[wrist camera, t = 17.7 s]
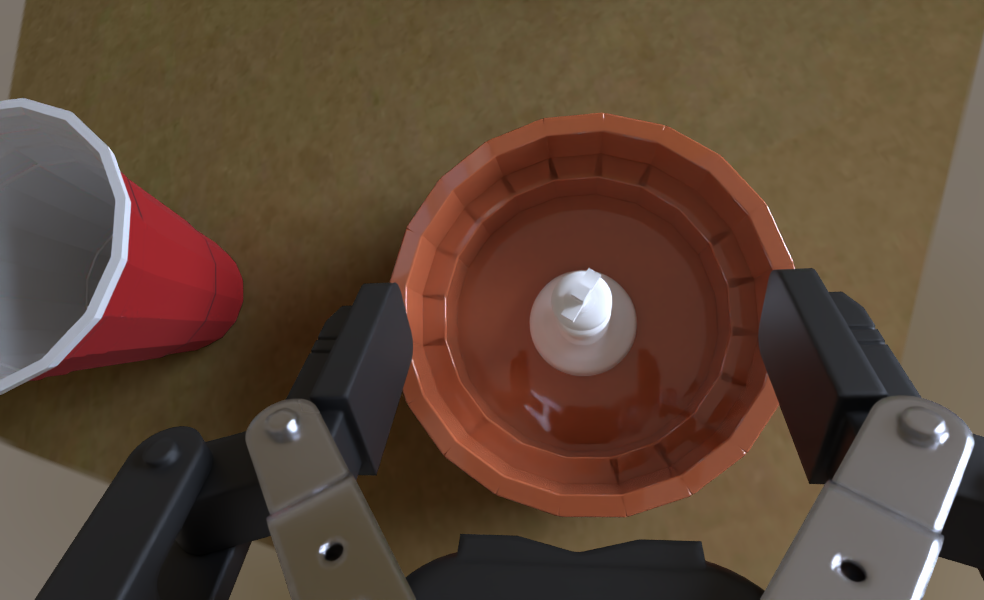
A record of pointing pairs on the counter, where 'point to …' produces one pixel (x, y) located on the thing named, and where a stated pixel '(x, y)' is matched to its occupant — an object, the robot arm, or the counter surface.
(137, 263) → the plastic cup
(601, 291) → the chess piece
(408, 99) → the counter surface
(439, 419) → the bowl
